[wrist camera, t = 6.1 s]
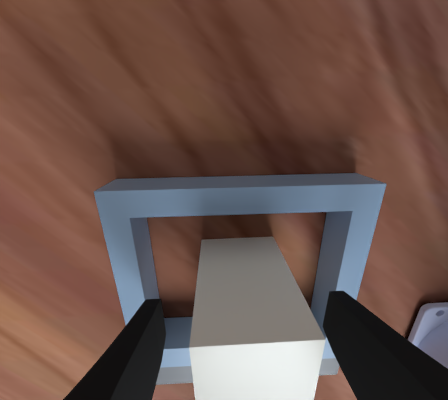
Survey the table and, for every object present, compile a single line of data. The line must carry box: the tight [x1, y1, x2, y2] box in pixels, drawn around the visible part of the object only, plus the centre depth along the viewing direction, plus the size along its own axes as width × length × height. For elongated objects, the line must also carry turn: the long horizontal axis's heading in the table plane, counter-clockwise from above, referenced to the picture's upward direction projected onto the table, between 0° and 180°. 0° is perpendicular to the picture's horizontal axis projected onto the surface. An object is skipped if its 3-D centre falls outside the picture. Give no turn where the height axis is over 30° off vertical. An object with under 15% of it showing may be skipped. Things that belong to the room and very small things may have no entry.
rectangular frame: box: [94, 173, 386, 385], centre depth 13 cm, size 12×21×2 cm, turn 1°
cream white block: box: [189, 237, 326, 400], centre depth 10 cm, size 4×4×6 cm
